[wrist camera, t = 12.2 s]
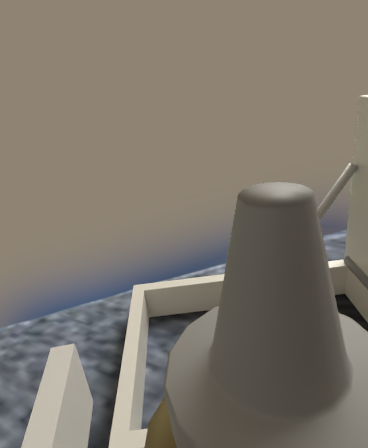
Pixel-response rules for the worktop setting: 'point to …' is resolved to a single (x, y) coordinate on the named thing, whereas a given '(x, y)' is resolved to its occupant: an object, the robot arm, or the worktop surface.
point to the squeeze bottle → (269, 343)
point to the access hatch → (212, 287)
